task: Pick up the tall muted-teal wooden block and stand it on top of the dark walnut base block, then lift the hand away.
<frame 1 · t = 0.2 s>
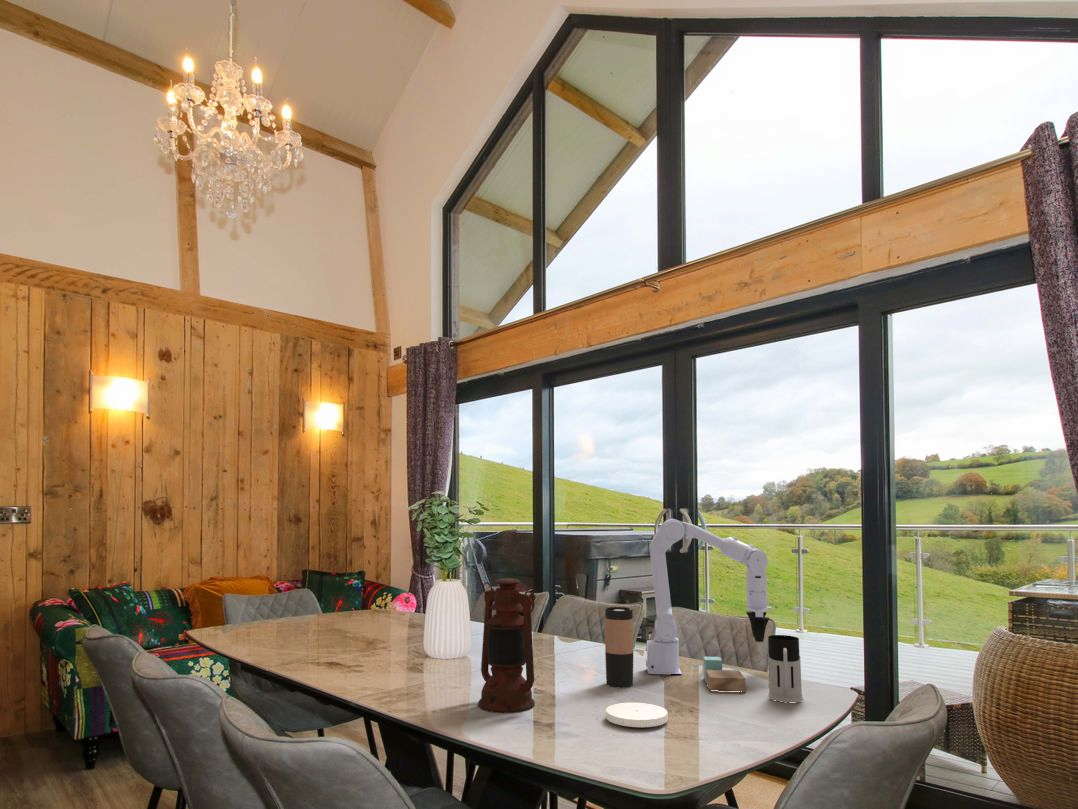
hand: (758, 639, 214), 10 cm above the table, tool pointing down, fingers open, 7 cm apart
glass holder: (786, 702, 185), on the table
lantern: (506, 705, 181), on the table
plastic lid: (636, 723, 168), on the table
teal block: (713, 680, 206), on the table
travel mug: (619, 685, 201), on the table
walnut base: (725, 689, 198), on the table
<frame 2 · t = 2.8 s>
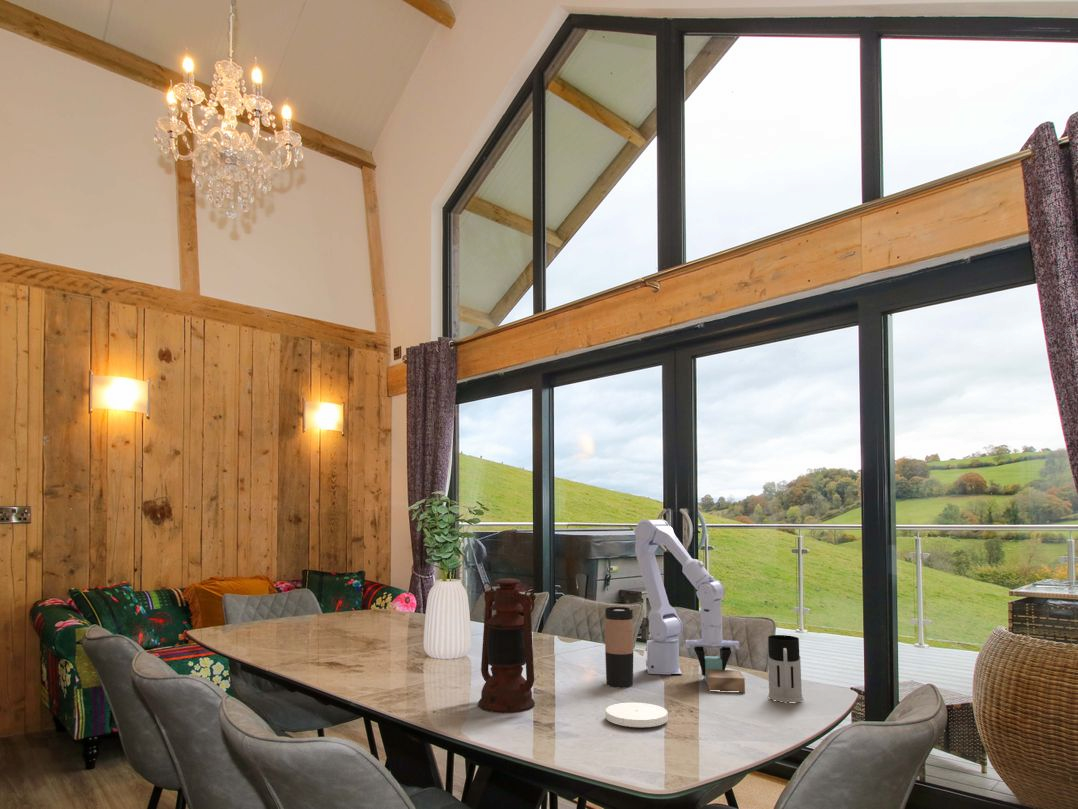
hand: (712, 675, 206), 1 cm above the table, tool pointing down, fingers closed on teal block, 4 cm apart
teal block: (713, 680, 206), on the table, touching gripper
everything else where it was.
when the fingers open (7 cm above the table, at t = 5.8 s): teal block drops 1 cm, resting on walnut base.
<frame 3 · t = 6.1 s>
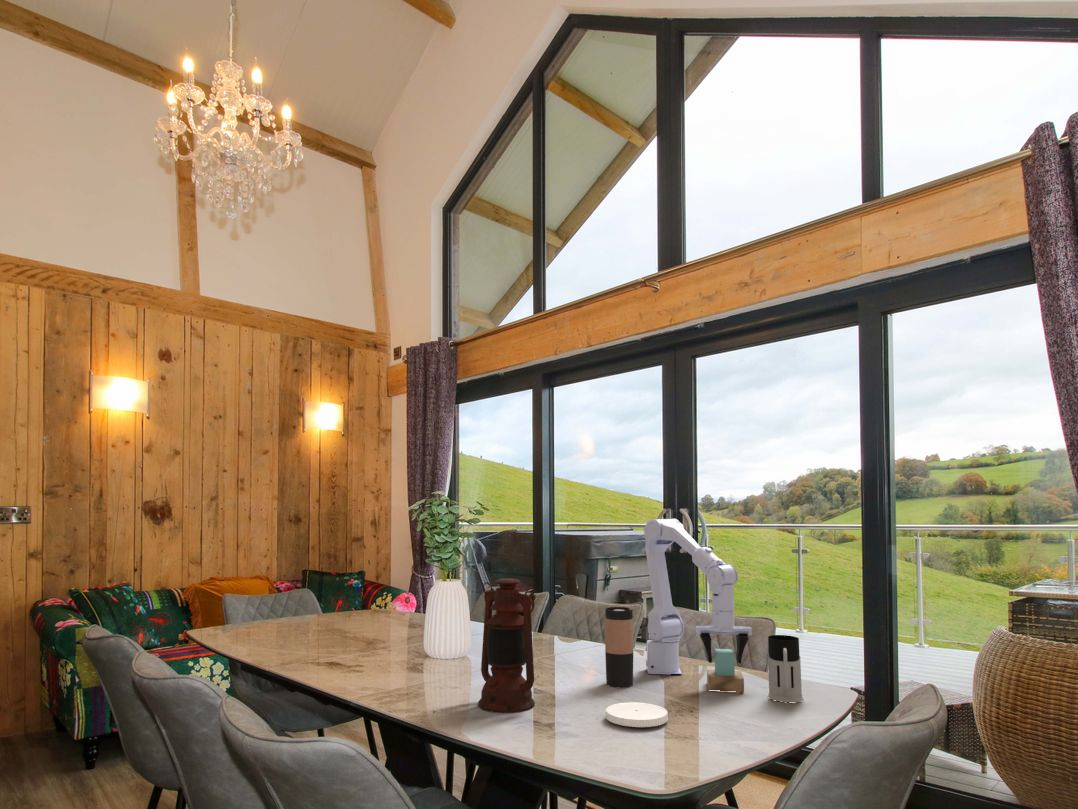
hand: (724, 662, 199), 7 cm above the table, tool pointing down, fingers open, 7 cm apart
teal block: (724, 673, 198), point 4 cm above the table, touching walnut base
walnut base: (725, 689, 198), on the table, touching teal block
everything else where it was.
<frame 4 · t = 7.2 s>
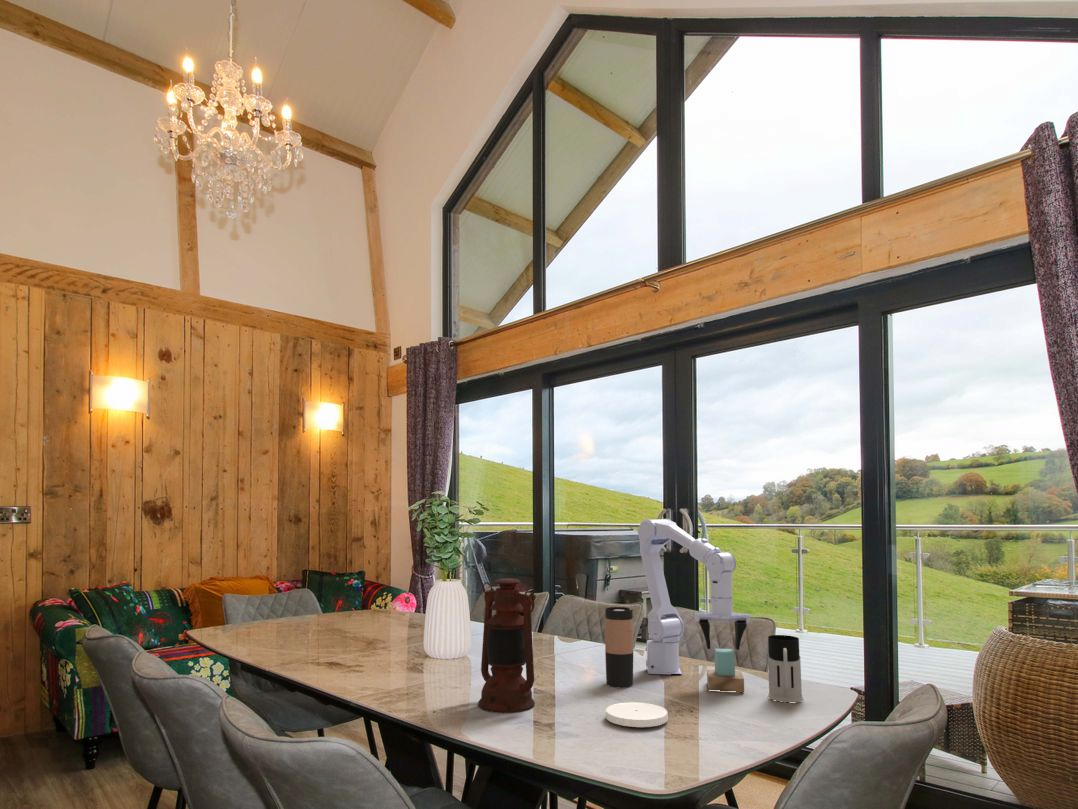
hand: (722, 648, 201), 10 cm above the table, tool pointing down, fingers open, 7 cm apart
teal block: (724, 673, 199), point 4 cm above the table
walnut base: (725, 689, 198), on the table
everything else where it was.
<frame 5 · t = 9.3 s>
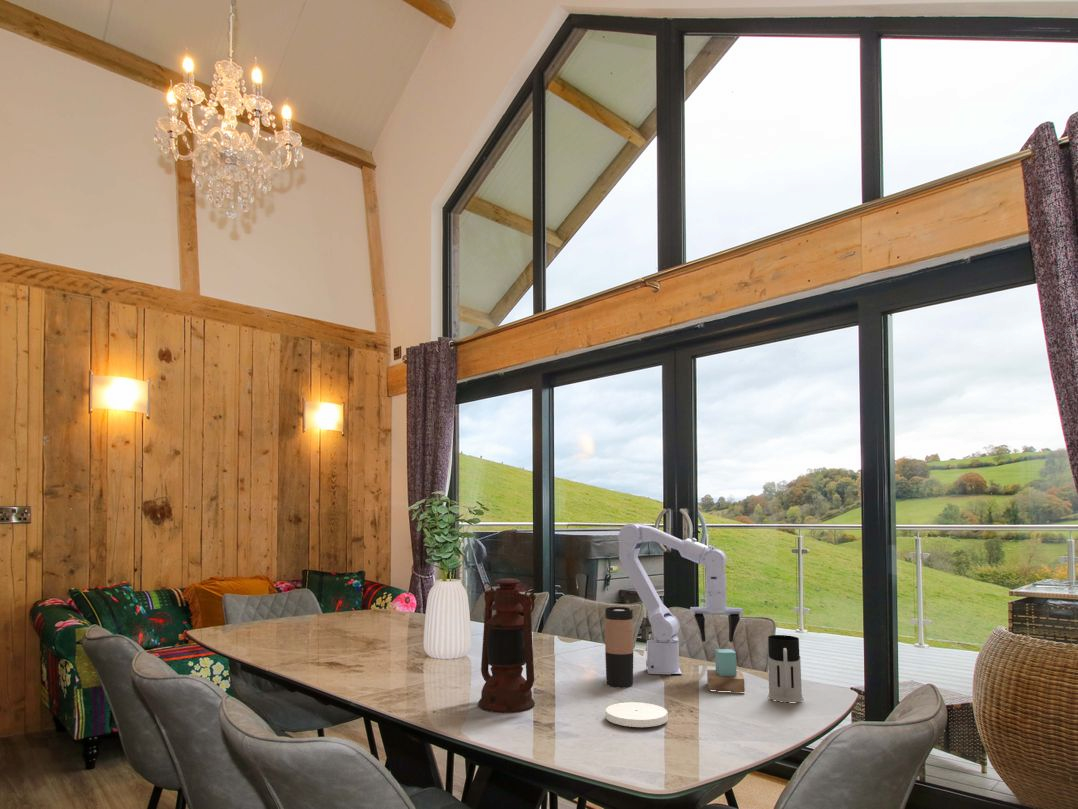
hand: (717, 641, 211), 10 cm above the table, tool pointing down, fingers open, 7 cm apart
teal block: (726, 673, 198), point 4 cm above the table, touching walnut base
walnut base: (725, 689, 198), on the table, touching teal block
everything else where it was.
at the end: teal block 0.4 cm off-centre on the walnut base, point 4.0 cm above the walnut base's base; teal block tilted 0°; the gripper is holding nothing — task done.
